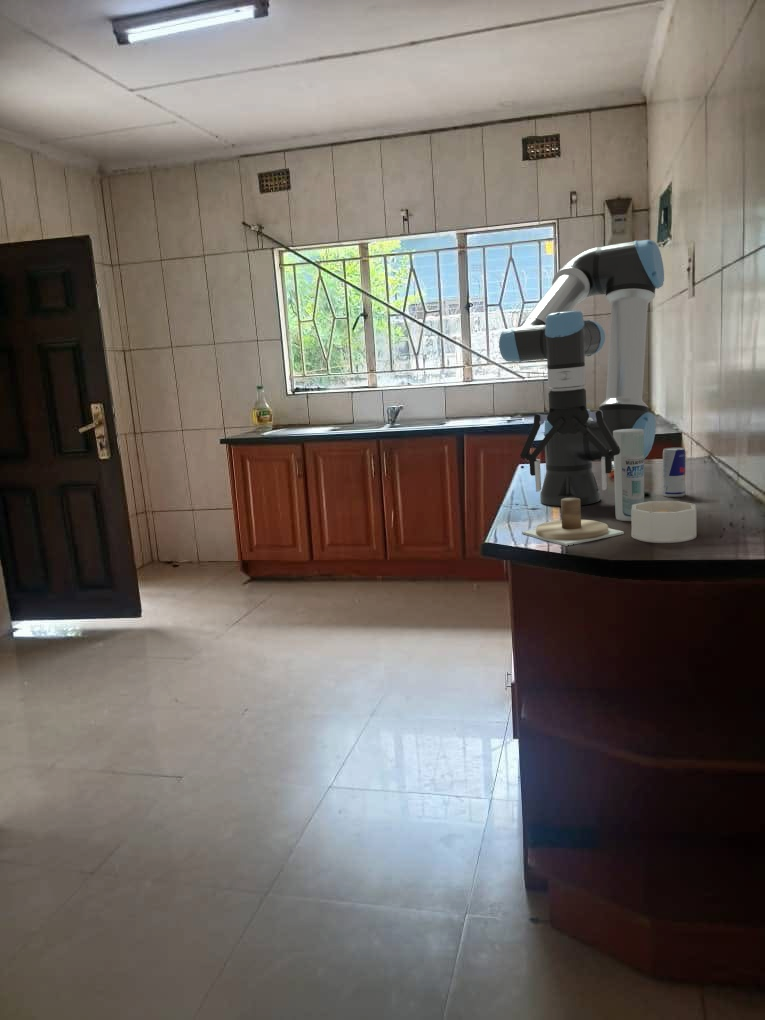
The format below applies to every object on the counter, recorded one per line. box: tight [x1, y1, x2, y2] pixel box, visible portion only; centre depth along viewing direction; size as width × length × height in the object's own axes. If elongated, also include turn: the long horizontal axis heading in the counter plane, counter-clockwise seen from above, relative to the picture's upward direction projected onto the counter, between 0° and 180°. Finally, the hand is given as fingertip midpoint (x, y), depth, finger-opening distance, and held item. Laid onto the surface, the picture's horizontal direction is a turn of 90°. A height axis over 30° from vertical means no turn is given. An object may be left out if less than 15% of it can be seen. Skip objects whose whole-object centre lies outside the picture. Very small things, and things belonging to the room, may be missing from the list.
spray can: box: [613, 429, 645, 522], centre depth 168 cm, size 6×6×20 cm
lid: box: [535, 498, 609, 540], centre depth 159 cm, size 15×15×7 cm
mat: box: [521, 527, 625, 547], centre depth 160 cm, size 15×15×1 cm
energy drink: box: [662, 447, 687, 498], centre depth 190 cm, size 5×5×12 cm
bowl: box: [630, 500, 698, 544], centre depth 152 cm, size 12×12×6 cm
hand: (571, 489), depth 158 cm, fingers open, 13 cm apart
